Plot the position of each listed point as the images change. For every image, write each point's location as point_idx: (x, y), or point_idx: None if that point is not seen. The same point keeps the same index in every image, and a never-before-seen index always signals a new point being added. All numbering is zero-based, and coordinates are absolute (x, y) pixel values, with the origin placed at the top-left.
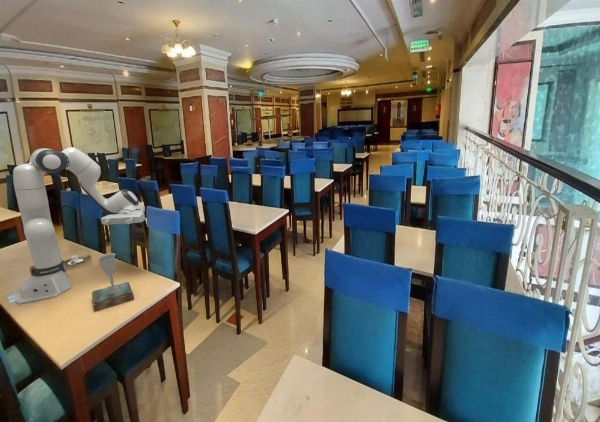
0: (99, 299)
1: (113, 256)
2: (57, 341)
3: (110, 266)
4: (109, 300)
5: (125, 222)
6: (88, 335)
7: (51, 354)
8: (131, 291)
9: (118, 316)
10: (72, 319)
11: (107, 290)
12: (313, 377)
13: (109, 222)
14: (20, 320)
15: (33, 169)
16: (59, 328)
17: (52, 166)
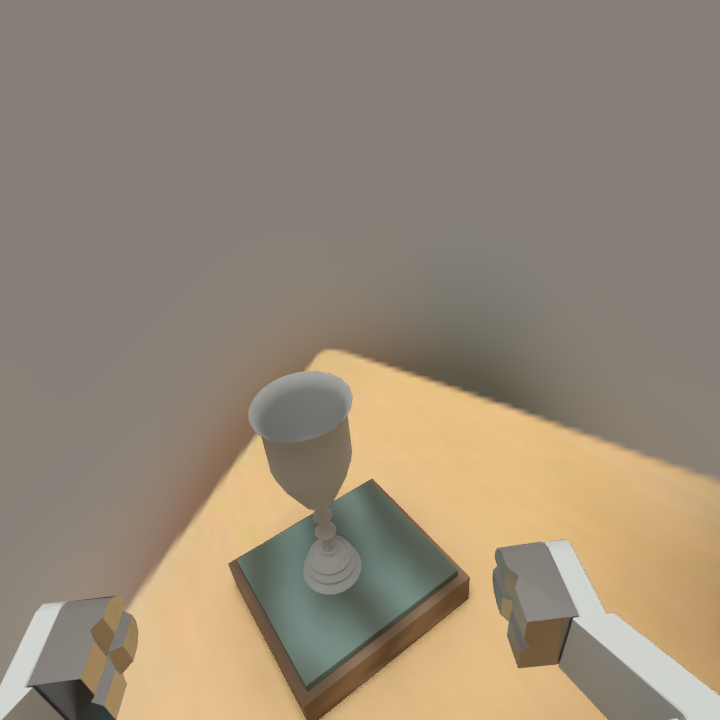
0: (363, 499)
1: (252, 405)
2: (388, 386)
3: (283, 432)
4: None
5: (110, 609)
6: None
7: (366, 359)
8: (243, 583)
9: (263, 475)
10: (427, 459)
11: (376, 576)
12: None
13: (514, 611)
14: (631, 452)
15: None
16: (432, 423)
17: None
